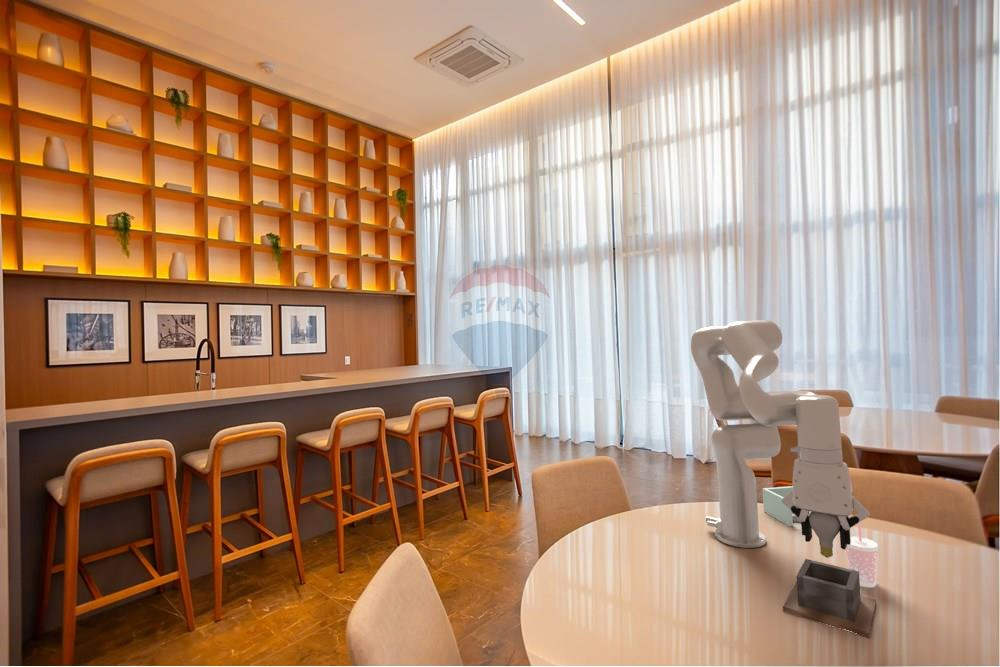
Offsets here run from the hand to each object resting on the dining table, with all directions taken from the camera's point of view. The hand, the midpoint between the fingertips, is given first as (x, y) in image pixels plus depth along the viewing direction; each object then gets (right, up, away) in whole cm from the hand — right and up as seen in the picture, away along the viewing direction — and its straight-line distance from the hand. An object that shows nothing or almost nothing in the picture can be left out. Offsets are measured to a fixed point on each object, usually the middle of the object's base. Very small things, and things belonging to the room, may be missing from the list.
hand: (826, 542), depth 97 cm
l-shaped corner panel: (+23, -13, +47) cm, 54 cm away
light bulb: (0, -3, 0) cm, 3 cm away
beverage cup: (+15, -13, +9) cm, 22 cm away
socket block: (+1, -13, 0) cm, 13 cm away
